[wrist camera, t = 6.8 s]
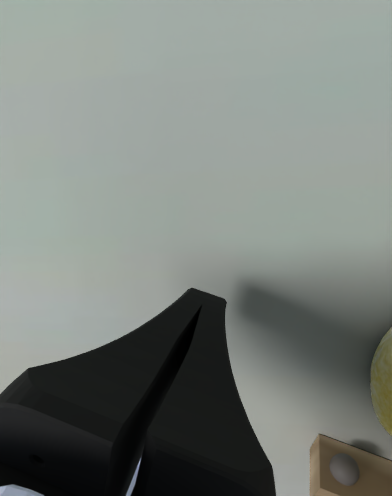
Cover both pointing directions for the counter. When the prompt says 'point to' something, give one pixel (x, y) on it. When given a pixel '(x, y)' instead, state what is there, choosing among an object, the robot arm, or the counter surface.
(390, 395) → the bread roll
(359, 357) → the counter surface
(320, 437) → the frame
